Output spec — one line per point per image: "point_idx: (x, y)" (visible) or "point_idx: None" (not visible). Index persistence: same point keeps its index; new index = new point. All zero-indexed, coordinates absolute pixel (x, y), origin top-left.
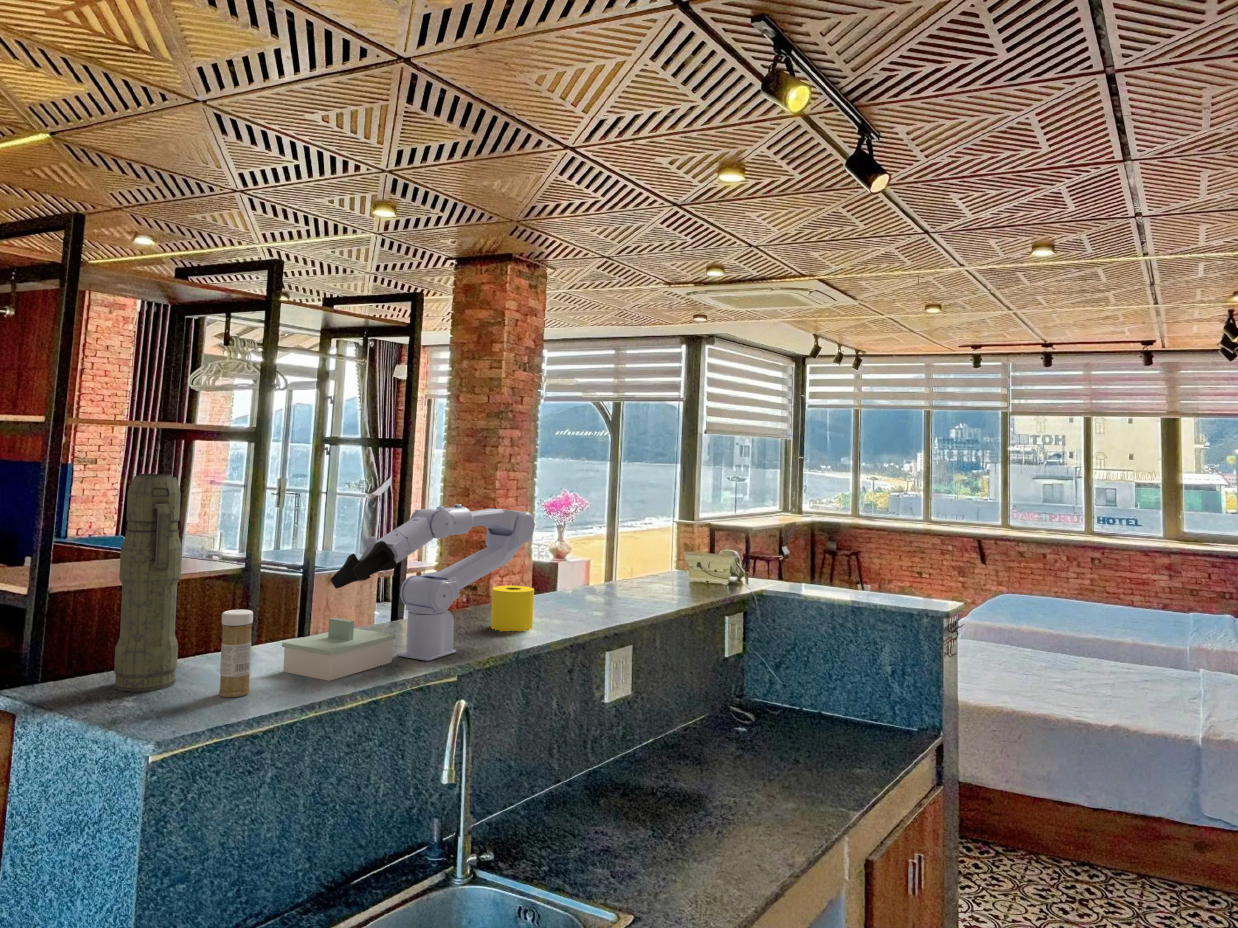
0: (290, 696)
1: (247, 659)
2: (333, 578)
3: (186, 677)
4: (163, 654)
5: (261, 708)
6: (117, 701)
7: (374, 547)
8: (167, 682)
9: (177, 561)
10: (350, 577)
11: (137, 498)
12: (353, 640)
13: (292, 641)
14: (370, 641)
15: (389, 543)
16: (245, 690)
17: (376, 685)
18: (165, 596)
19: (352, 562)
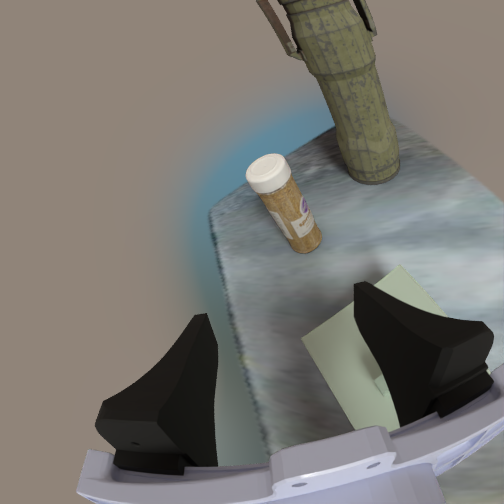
0: (268, 296)
1: (278, 225)
2: (355, 289)
3: (397, 190)
4: (343, 151)
5: (241, 267)
6: (322, 162)
7: (152, 394)
8: (358, 178)
9: (317, 53)
10: (384, 357)
11: None
12: (374, 396)
13: (404, 280)
14: (354, 428)
15: (136, 489)
16: (293, 247)
17: (261, 408)
18: (326, 91)
19: (413, 351)
